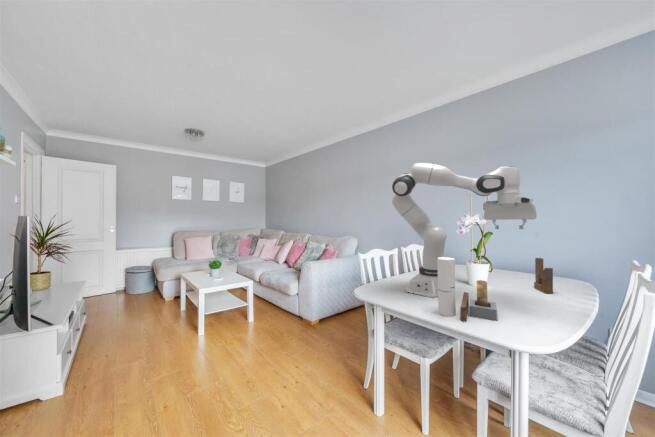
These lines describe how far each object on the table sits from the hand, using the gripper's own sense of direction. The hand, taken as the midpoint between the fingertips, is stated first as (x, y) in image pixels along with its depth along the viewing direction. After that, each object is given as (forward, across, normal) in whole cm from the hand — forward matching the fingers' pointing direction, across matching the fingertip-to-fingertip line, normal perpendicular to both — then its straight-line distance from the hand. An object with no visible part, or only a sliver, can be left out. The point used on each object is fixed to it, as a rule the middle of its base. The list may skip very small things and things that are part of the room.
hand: (508, 229), depth 118 cm
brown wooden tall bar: (+36, -11, -17) cm, 42 cm away
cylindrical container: (+37, -25, -23) cm, 50 cm away
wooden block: (+37, +18, +36) cm, 55 cm away
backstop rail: (+37, -18, -18) cm, 45 cm away
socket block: (+38, -11, -17) cm, 43 cm away
